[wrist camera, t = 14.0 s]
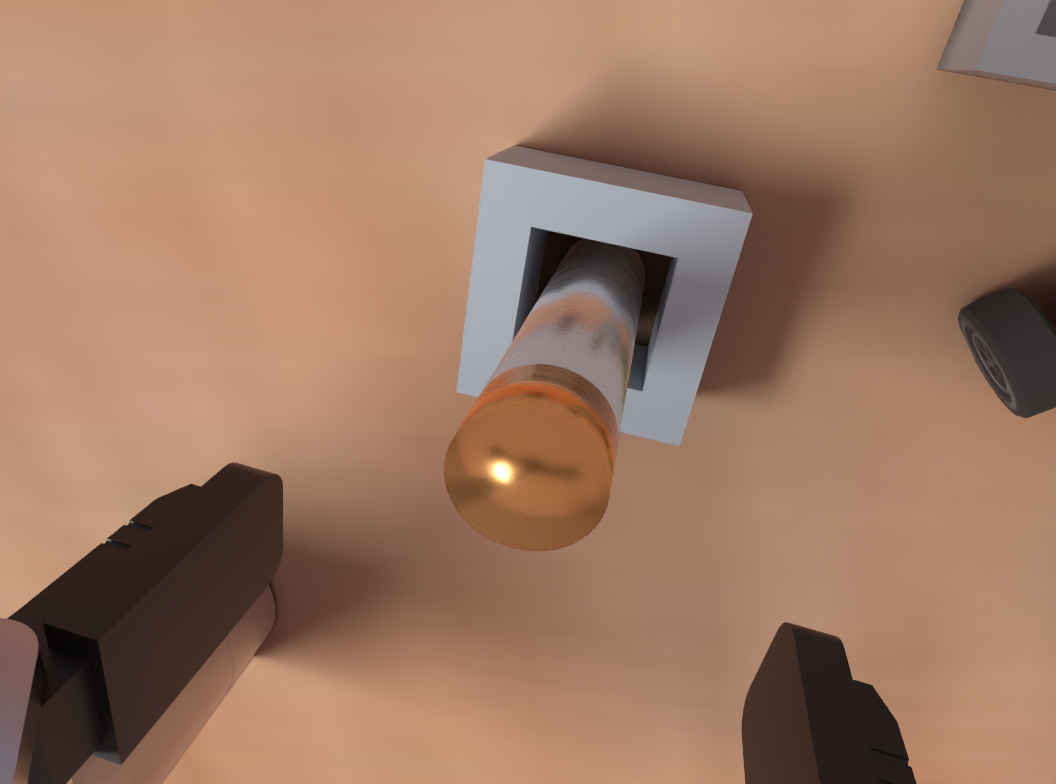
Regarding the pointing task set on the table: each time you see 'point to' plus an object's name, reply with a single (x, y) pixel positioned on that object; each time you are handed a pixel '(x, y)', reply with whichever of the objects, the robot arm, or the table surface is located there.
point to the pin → (553, 408)
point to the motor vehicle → (1013, 349)
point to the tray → (1005, 42)
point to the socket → (617, 218)
